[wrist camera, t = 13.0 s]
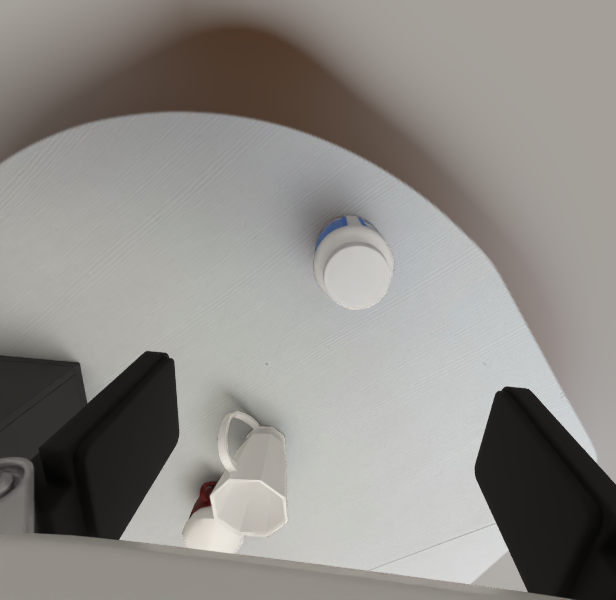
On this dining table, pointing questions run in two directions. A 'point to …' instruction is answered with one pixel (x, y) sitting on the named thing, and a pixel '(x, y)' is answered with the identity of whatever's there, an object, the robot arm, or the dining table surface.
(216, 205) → the dining table surface
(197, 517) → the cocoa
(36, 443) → the dark open-top bin
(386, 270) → the pill bottle
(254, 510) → the cup
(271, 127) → the dining table surface
